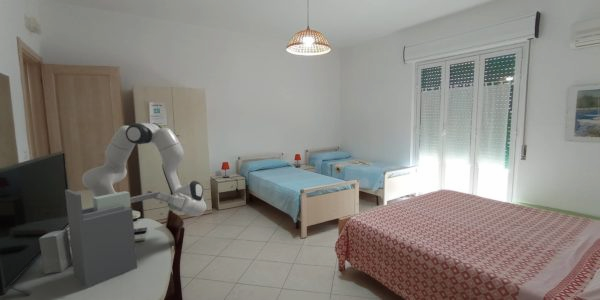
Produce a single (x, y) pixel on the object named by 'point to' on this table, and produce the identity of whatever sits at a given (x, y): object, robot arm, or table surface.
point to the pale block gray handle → (119, 200)
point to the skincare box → (55, 251)
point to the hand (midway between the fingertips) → (152, 193)
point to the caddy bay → (100, 241)
